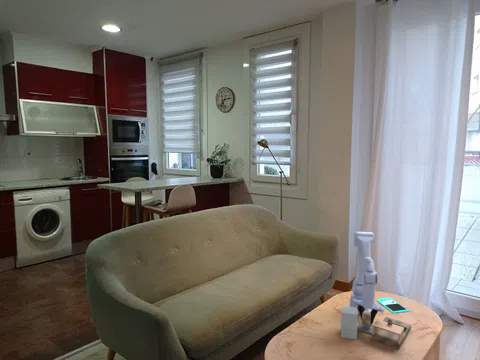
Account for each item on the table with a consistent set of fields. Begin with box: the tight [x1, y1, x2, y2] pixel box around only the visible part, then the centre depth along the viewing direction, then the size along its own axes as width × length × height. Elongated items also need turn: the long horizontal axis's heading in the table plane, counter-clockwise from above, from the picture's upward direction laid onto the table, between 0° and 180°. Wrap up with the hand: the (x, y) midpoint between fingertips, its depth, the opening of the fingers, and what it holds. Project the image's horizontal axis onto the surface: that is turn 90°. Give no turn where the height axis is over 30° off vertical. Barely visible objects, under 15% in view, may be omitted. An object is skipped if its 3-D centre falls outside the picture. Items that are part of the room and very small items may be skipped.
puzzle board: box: [371, 316, 412, 350], centre depth 164 cm, size 12×22×2 cm, turn 141°
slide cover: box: [372, 317, 405, 344], centre depth 158 cm, size 12×7×7 cm, turn 51°
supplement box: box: [340, 305, 359, 341], centre depth 162 cm, size 7×7×13 cm
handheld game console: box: [377, 297, 409, 314], centre depth 192 cm, size 10×16×1 cm, turn 12°
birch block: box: [361, 310, 373, 327], centre depth 168 cm, size 4×4×6 cm
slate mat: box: [357, 321, 373, 336], centre depth 169 cm, size 8×8×1 cm
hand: (367, 321), depth 168 cm, fingers closed on birch block, 4 cm apart
